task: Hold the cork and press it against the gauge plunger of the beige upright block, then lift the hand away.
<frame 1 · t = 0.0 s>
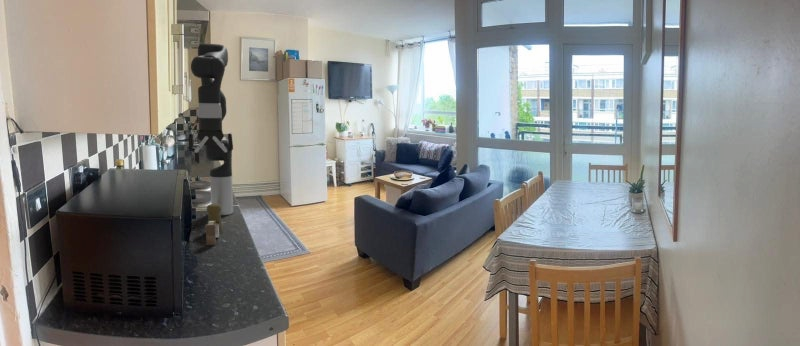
hand: (211, 163, 161), 29 cm above the worktop, tool pointing down, fingers open, 8 cm apart
beige upright block: (213, 237, 172), on the worktop
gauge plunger: (212, 228, 172), point 4 cm above the worktop, slide at 0.0 cm
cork: (214, 232, 180), on the worktop
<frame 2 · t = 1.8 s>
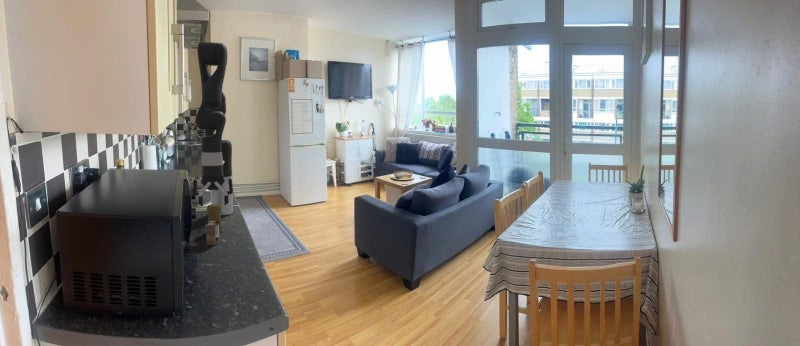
hand: (213, 205, 178), 11 cm above the worktop, tool pointing down, fingers open, 8 cm apart
nothing on the worktop moved.
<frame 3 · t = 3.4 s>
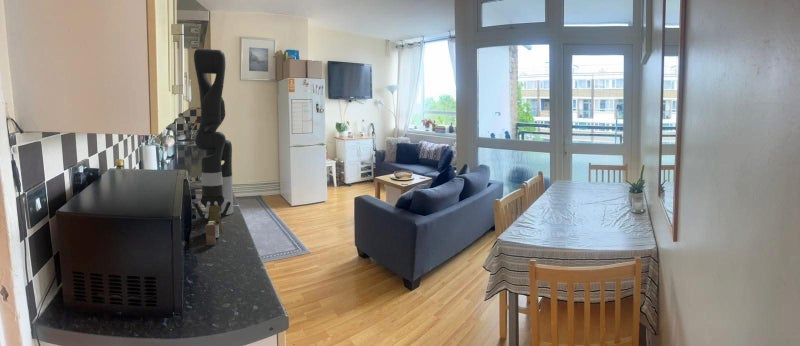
hand: (213, 226, 179), 2 cm above the worktop, tool pointing down, fingers closed on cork, 3 cm apart
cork: (215, 232, 180), on the worktop, touching gripper
everything else where it was.
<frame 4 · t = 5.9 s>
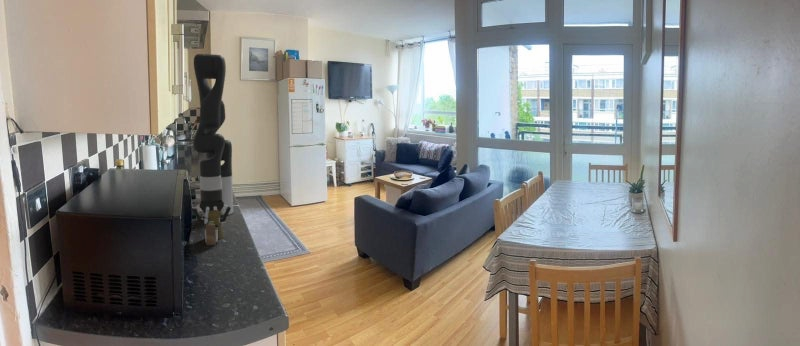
hand: (212, 232, 172), 2 cm above the worktop, tool pointing down, fingers closed on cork, 3 cm apart
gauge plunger: (211, 232, 167), point 4 cm above the worktop, slide at 5.5 cm, touching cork
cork: (215, 237, 173), on the worktop, touching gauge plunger, gripper
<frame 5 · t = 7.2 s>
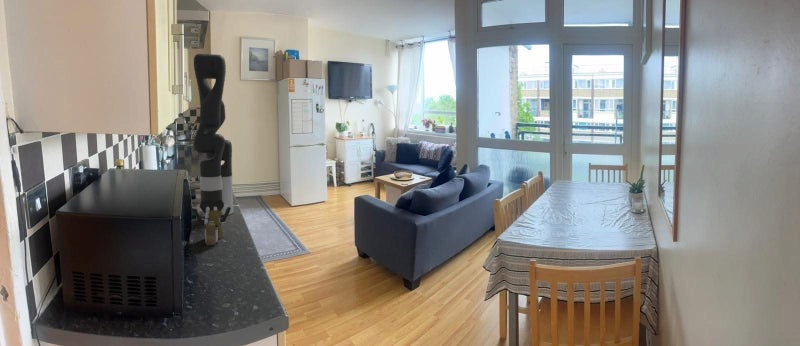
hand: (213, 232, 172), 2 cm above the worktop, tool pointing down, fingers closed on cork, 2 cm apart
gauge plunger: (211, 232, 167), point 4 cm above the worktop, slide at 5.6 cm
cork: (215, 237, 173), on the worktop, touching gripper
when the fingers open (2 cm above the worktop, at t = 7.8 s): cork stays where it is, on the worktop.
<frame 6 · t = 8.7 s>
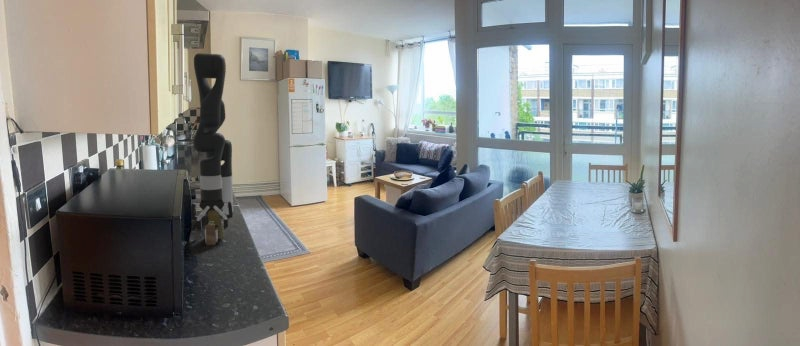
hand: (212, 229, 172), 3 cm above the worktop, tool pointing down, fingers open, 8 cm apart
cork: (215, 237, 173), on the worktop
everything else where it was.
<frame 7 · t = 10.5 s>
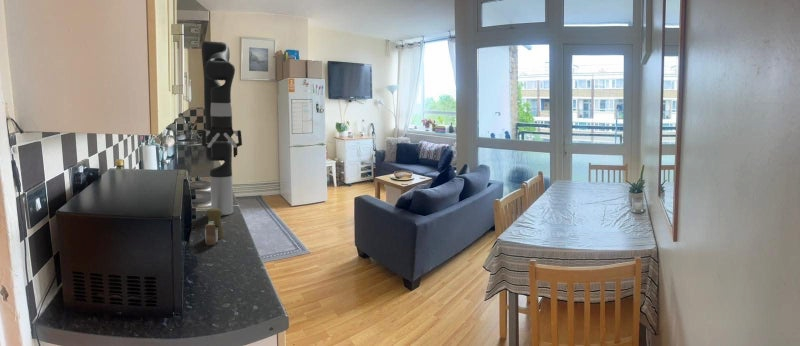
hand: (222, 157, 177), 29 cm above the worktop, tool pointing down, fingers open, 8 cm apart
nothing on the worktop moved.
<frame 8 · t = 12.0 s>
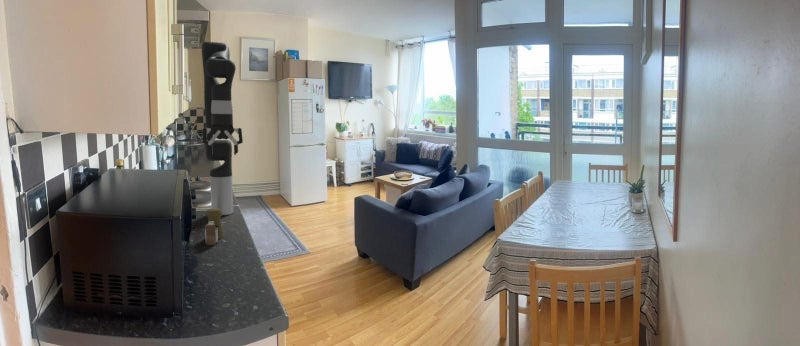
hand: (223, 154, 178), 30 cm above the worktop, tool pointing down, fingers open, 8 cm apart
nothing on the worktop moved.
at the end: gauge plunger slide at 5.6 cm; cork tilted 0°; the gripper is holding nothing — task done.
